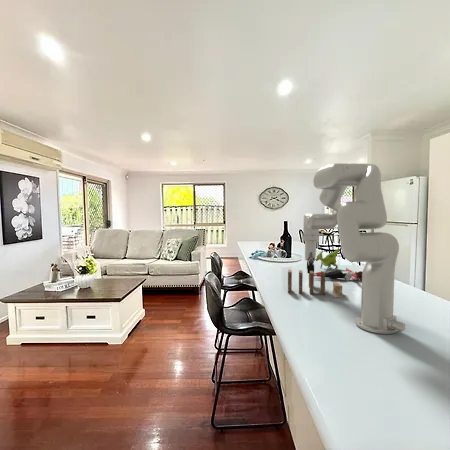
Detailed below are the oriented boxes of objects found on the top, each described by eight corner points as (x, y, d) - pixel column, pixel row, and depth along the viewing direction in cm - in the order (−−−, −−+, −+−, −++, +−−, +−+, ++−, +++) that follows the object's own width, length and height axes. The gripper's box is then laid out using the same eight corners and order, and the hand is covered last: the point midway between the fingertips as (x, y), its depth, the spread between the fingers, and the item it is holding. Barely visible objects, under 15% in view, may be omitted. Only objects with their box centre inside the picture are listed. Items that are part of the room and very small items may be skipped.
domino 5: (323, 292, 138) (324, 271, 138) (324, 295, 134) (325, 273, 133) (320, 292, 139) (320, 271, 138) (321, 295, 134) (321, 273, 133)
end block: (339, 292, 138) (339, 281, 138) (342, 297, 130) (342, 286, 130) (333, 292, 139) (333, 281, 139) (335, 296, 131) (335, 285, 131)
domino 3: (311, 285, 151) (312, 266, 151) (312, 287, 146) (312, 268, 146) (308, 285, 152) (308, 266, 151) (309, 287, 147) (309, 267, 146)
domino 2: (302, 290, 141) (302, 270, 140) (302, 293, 136) (302, 272, 135) (298, 290, 141) (298, 270, 141) (298, 293, 136) (299, 272, 136)
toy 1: (318, 275, 195) (310, 256, 192) (339, 257, 203) (331, 239, 199) (327, 277, 188) (319, 258, 184) (349, 259, 195) (341, 240, 191)
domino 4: (313, 291, 140) (313, 270, 139) (313, 294, 135) (313, 273, 134) (309, 291, 140) (309, 270, 140) (309, 294, 135) (310, 273, 135)
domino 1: (291, 290, 142) (291, 269, 142) (291, 293, 137) (291, 272, 137) (288, 290, 142) (288, 269, 142) (287, 292, 138) (288, 271, 137)
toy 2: (312, 285, 153) (374, 288, 147) (312, 274, 153) (374, 276, 147) (308, 273, 180) (360, 275, 174) (308, 264, 180) (360, 266, 174)
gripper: (303, 235, 157) (302, 267, 158) (303, 239, 140) (302, 274, 142) (317, 236, 155) (316, 268, 156) (319, 240, 139) (319, 275, 140)
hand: (310, 271), depth 149 cm, fingers open, 9 cm apart
